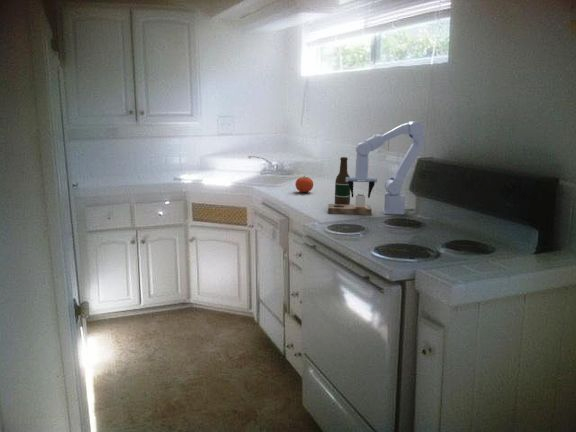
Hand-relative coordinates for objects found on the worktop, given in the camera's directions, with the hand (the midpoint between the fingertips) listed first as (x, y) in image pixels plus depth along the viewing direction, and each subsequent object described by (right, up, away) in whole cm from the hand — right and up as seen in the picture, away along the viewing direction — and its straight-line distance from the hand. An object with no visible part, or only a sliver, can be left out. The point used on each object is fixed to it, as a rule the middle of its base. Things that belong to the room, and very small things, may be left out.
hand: (360, 197), depth 246 cm
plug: (0, -4, +1) cm, 4 cm away
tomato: (-25, +4, +52) cm, 58 cm away
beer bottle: (-7, -3, +20) cm, 21 cm away
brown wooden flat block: (-5, -7, +2) cm, 9 cm away
